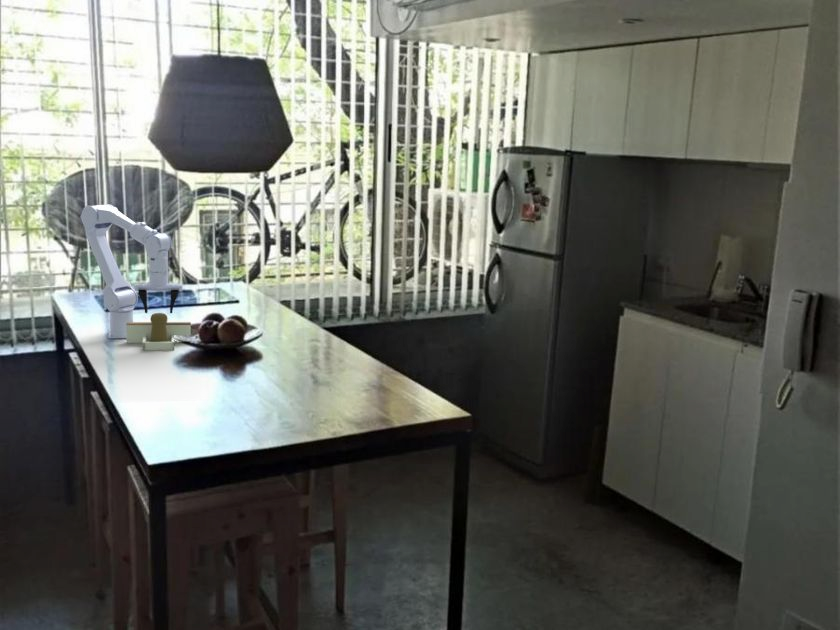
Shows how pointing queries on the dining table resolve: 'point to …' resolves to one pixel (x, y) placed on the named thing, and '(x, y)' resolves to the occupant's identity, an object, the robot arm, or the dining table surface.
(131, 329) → the stand
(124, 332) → the robot arm
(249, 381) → the dining table surface
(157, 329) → the cork
